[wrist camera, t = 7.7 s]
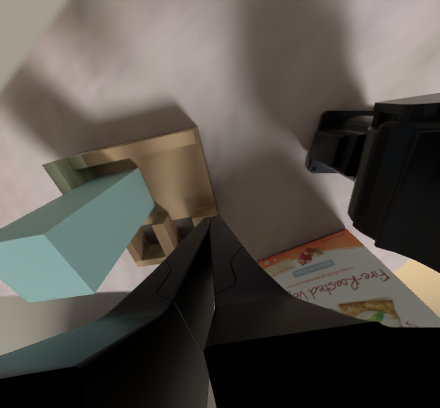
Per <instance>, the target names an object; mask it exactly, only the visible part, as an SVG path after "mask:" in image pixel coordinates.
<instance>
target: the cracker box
mask: <svg viewBox="0 0 440 408" xmlns="http://www.w3.org/2000/svg"><path fill="white" fill-rule="evenodd" d="M258 263H259V265H260V266H261V267H262V268H263V269H264V270H265V271H266V272H267V273H268V274H269V275H270V276H271V277H272V278H273V279H274V280H275V281H276V282H277V283H279V284H280V285H281V286H282V287H283V288H284V289H285V290H286V291H287V292H289V293H290V294H291V295H293V296H295V297H297V298H299V299H301V300H304V301H307V302H310V303H313V304H316V305H319V306H322V307H325V308H328V309H331V310H334V311H337V312H340V313H342V314H345V315H348V316H352V317H355V318H359V319H364V320H369V321H377V322H380V323H381V324H382V325H385V326H389V327H440V318H439V317H438V316H437V315H436V314H435V313H434V312H433V311H432V310H431V309H430V308H429V307H428V306H427V305H425V303H424V302H423V301H422V300H420V299H419V298H418V297H417V296H416V295H415V294H414V293H413V292H412V291H411V290H410V289H409V288H408V287H407V286H406V285H405V284H404V283H403V282H402V281H401V280H400V279H399V278H397V276H395V275H394V274H393V273H392V272H391V271H390V270H389V269H388V268H387V267H386V266H385V265H384V264H383V263H382V262H381V261H380V260H379V259H378V258H377V257H376V256H375V255H374V254H372V253H371V252H370V251H369V250H368V249H367V248H366V247H365V246H364V245H363V244H362V243H361V242H360V241H359V240H358V239H357V238H356V237H355V236H353V235H352V234H351V233H350V232H349V231H348V230H347V229H345V230H343V231H340V232H338V233H335V234H332V235H329V236H327V237H324V238H321V239H319V240H316V241H313V242H310V243H307V244H305V245H302V246H299V247H297V248H294V249H291V250H288V251H286V252H283V253H280V254H277V255H275V256H272V257H269V258H266V259H263V260H261V261H259V262H258Z"/></svg>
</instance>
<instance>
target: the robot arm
mask: <svg viewBox="0 0 440 408" xmlns="http://www.w3.org/2000/svg"><path fill="white" fill-rule="evenodd" d="M327 114H328V115H329V116H328V118H327V119H326V115H327ZM310 156H311V159H310V163H309V167H308V170H309V171H310V172H311V173H339V174H341V175H343V176H344V177H346V178H348V179H350V180H352V181H354V182H355V183H354V187H353V191H352V195H351V199H350V203H349V207H348V215H349V217H350V218H351V220H352V221H353V227H355V228H356V229H357V230H358V231H360V232H361V233H362V234H364V235H366V236H368V237H370V238H371V239H373V240H375V244H374V245H375V246H376V247H378V248H381V249H385V250H388V251H392V252H396V253H398V254H401V255H403V256H406V257H408V258H411V259H413V260H416V261H418V262H420V263H422V264H424V265H426V266H428V267H430V268H431V269H433V270H435V271H437V272H439V273H440V93H436V94H429V95H423V96H416V97H409V98H403V99H396V100H389V101H382V102H376V103H375V106H374V110H373V111H325V112H323V114H322V116H321V119H320V123H319V127H318V131H317V132H316V133H315V137H314V141H313V145H312V149H311V153H310ZM313 167H315V168H314V169H313V170H312V168H313ZM214 302H215V310H214ZM209 378H210V381H211V386H212V390H213V394H214V398H215V403H216V407H217V408H440V327H389V326H385V325H382V324H381V323H380V322H377V321H369V320H364V319H359V318H355V317H352V316H348V315H345V314H342V313H340V312H337V311H334V310H331V309H328V308H325V307H322V306H319V305H316V304H313V303H310V302H307V301H304V300H301V299H299V298H297V297H295V296H293V295H291V294H290V293H289V292H287V291H286V290H285V289H284V288H283V287H282V286H281V285H280V284H279V283H277V282H276V281H275V280H274V279H273V278H272V277H271V276H270V275H269V274H268V273H267V272H266V271H265V270H264V269H263V268H262V267H261V266H260V265H259V264H258V263H257V262H256V261H255V260H254V259H253V258H252V257H251V256H250V254H249V253H248V252H247V251H246V249H245V248H244V247H243V245H242V244H241V243H240V241H239V240H238V239H237V237H236V236H235V235H234V233H233V232H232V231H231V229H230V228H229V227H228V226H227V224H226V223H225V222H224V220H223V219H222V218H221V216H220V215H217V216H212V217H205V218H203V219H202V220H201V221H200V223H199V224H198V225H197V226H196V227H195V228H194V229H193V230H192V231H191V232H190V233H189V234H188V235H187V236H186V237H185V238H184V240H183V241H182V242H181V243H180V244H179V245H178V246H177V247H176V248H175V249H174V250H173V251H172V252H171V253H170V254H169V255H168V257H167V258H166V259H165V260H164V261H163V262H162V263H161V264H160V265H159V266H158V267H157V268H156V269H155V270H154V271H153V272H152V273H151V274H150V275H149V276H148V277H147V278H146V279H145V280H144V281H143V282H142V283H141V284H139V285H138V286H137V287H136V288H135V289H134V290H133V291H132V292H131V293H130V294H129V295H127V296H126V297H125V298H124V299H123V300H122V301H121V302H120V303H119V304H118V305H116V306H115V307H114V308H113V309H112V310H111V311H109V312H108V313H107V314H105V315H104V316H103V317H101V318H99V319H98V320H96V321H94V322H92V323H90V324H87V325H84V326H82V327H79V328H76V329H73V330H71V331H68V332H65V333H62V334H59V335H57V336H54V337H51V338H48V339H46V340H43V341H40V342H38V343H35V344H32V345H29V346H26V347H24V348H21V349H18V350H15V351H13V352H10V353H7V354H4V355H1V356H0V408H207V401H208V387H209Z"/></svg>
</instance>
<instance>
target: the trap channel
mask: <svg viewBox="0 0 440 408" xmlns="http://www.w3.org/2000/svg"><path fill="white" fill-rule="evenodd" d="M42 166H43V167H44V169H45V170H46V171H47V173H48V174H49V176H50V177H51V178H52V180H53V181H54V183H55V184H56V186H57V187H58V188H59V190H60V191H61V193H62V194H63V195H64V194H66V193H68V192H70V191H72V190H73V189H75V188H77V187H79V186H81V185H83V184H84V183H86V182H88V181H90V180H92V179H94V178H96V177H97V176H101V175H106V174H110V173H115V172H120V171H125V170H129V169H134V168H139V170H140V172H141V174H142V177H143V179H144V181H145V184H146V186H147V188H148V190H149V193H150V195H151V197H152V200H153V202H154V204H155V206H154V208H153V209H152V211H151V212H150V214H149V215H148V217H147V218H146V219H145V221H144V222H143V224H142V225H141V227H140V228H139V230H138V231H137V233H136V234H135V235H134V237H133V238H132V240H131V241H130V243H129V244H128V246H127V247H126V248H127V249H128V251H129V253H130V254H131V256H132V258H133V259H134V261H135V262H136V264H137V266H138V267H140V266H147V265H154V264H160V263H162V262H163V261H164V260H165V259H166V258H167V257H168V255H169V254H170V253H171V252H172V251H173V250H174V249H175V248H176V247H177V246H178V245H179V244H180V243H181V242H182V241H183V240H184V238H185V237H186V236H187V235H188V234H189V233H190V232H191V231H192V230H193V229H194V228H195V227H196V226H197V225H198V224H199V223H200V221H201V220H202V219H203V218H205V217H212V216H217V204H216V200H215V196H214V192H213V188H212V184H211V180H210V176H209V172H208V168H207V164H206V160H205V156H204V151H203V147H202V143H201V139H200V135H199V131H198V127H193V128H189V129H185V130H180V131H176V132H171V133H167V134H163V135H158V136H154V137H149V138H145V139H141V140H136V141H132V142H127V143H123V144H119V145H114V146H110V147H105V148H101V149H97V150H92V151H88V152H83V153H80V154H76V155H73V156H70V157H67V158H63V159H60V160H57V161H54V162H51V163H47V164H44V165H42Z"/></svg>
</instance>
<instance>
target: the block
mask: <svg viewBox="0 0 440 408" xmlns="http://www.w3.org/2000/svg"><path fill="white" fill-rule="evenodd" d="M154 206H155V204H154V202H153V200H152V197H151V195H150V193H149V190H148V188H147V186H146V184H145V181H144V179H143V177H142V174H141V172H140V170H139V168H134V169H129V170H125V171H120V172H115V173H110V174H106V175H101V176H97V177H96V178H94V179H92V180H90V181H88V182H86V183H84V184H83V185H81V186H79V187H77V188H75V189H73V190H72V191H70V192H68V193H66V194H64V195H62V196H60V197H59V198H57V199H55V200H53V201H51V202H49V203H47V204H46V205H44V206H42V207H40V208H38V209H36V210H35V211H33V212H31V213H29V214H27V215H25V216H23V217H22V218H20V219H18V220H16V221H14V222H12V223H10V224H9V225H7V226H5V227H3V228H1V229H0V279H1V280H2V281H3V282H5V283H6V284H7V285H8V286H9V287H11V288H12V289H13V290H14V291H15V292H16V293H18V294H19V295H20V296H21V297H22V298H24V299H25V300H26V301H27V302H37V301H44V300H51V299H58V298H66V297H73V296H80V295H88V294H95V292H96V291H97V289H98V288H99V286H100V285H101V284H102V282H103V281H104V279H105V278H106V276H107V275H108V273H109V272H110V270H111V269H112V268H113V266H114V265H115V263H116V262H117V260H118V259H119V257H120V256H121V254H122V253H123V252H124V250H125V249H126V247H127V246H128V244H129V243H130V241H131V240H132V238H133V237H134V235H135V234H136V233H137V231H138V230H139V228H140V227H141V225H142V224H143V222H144V221H145V219H146V218H147V217H148V215H149V214H150V212H151V211H152V209H153V208H154Z"/></svg>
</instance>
